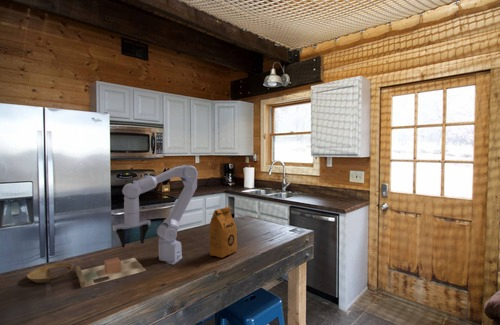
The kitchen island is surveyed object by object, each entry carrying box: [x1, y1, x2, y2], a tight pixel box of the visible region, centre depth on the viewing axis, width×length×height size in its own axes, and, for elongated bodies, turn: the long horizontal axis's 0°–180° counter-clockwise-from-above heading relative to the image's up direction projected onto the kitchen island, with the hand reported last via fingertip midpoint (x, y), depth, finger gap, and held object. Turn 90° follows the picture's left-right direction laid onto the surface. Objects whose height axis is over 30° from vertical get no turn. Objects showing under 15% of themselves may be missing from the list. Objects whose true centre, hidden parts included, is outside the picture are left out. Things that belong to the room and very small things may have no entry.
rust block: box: [103, 257, 122, 274], centre depth 108 cm, size 5×5×4 cm
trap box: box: [75, 257, 147, 289], centre depth 108 cm, size 22×17×3 cm
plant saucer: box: [26, 262, 74, 284], centre depth 107 cm, size 15×15×3 cm
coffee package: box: [208, 206, 238, 258], centre depth 128 cm, size 10×12×22 cm
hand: (132, 244), depth 113 cm, fingers open, 7 cm apart
